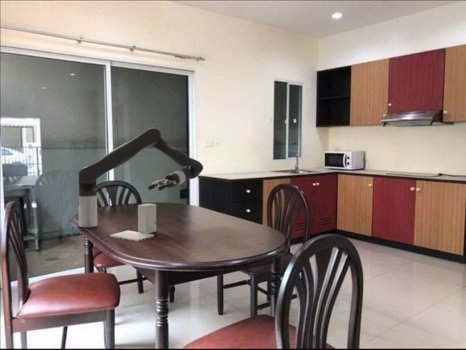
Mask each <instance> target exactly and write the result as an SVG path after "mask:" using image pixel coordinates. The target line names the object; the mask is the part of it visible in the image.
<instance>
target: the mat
mask: <svg viewBox="0 0 466 350" xmlns="http://www.w3.org/2000/svg"><path fill="white" fill-rule="evenodd" d="M154 236H155V234H153V233H148V234H146V233H140V232H138V231H135V230H134V231H133V230H124V231H120V232H117V233H112V234H110V235H109V237H110V238H116V239H120V238H121V239H122V240H126V239H127V240H128V241H132V240H133V241H132V242H139V240H140V241H143V239H144V240H147V239H150V238H154ZM146 238H147V239H146ZM121 239H120V240H121ZM127 240H126V241H127Z"/></svg>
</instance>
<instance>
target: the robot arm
mask: <svg viewBox="0 0 466 350" xmlns="http://www.w3.org/2000/svg"><path fill="white" fill-rule="evenodd" d="M149 146H151V147H153V148H155V149H157V150H159V152H161V153H163V154H165V155H166V156H167V157H168V158H170V159H171V160H173V161H174V163H176V164H177V165H179V166H180V167H182V168H181V169H179V170H176V171H173V172H171V173H168V174H166V176H165V178H164V179H158V180H156V181H153V182H151V185H148V186H147V189H148V190H153V189H155V188H158V191H162V190H165V189H171V188H174V187H177V186H179V185H182V184H183V183H184V182H186V181H189V180H193V179H196V178H198V176H199V175H200V174H201V173H202V172H203V170H204V165H203V163H201V162H200V161H199V160H197V159H195V158H192V157H189V156H188V155H187V154H185V153H184V152H183V151H181V150H180V149H178V148H177V147H174V146H172V145H171V144H169V143H168V142H167V141H165V140H164V138H162V135H161V131H160V130H159V129H158V128H156V127H149V128H148V129H146V130H145V131H144V132H142V133H140V134H139V135H138V136H137V137H135V138H133V139H132V140H130V141H127V142H126V143H123V144H121V145H120V146H118V147H116V148H115V149H113V150H112V151H110V152H108V153H107V154H106V155H104V156H103V158H101V159H100V160H98V161H97V162H95V163H92V164H91V165H88V166H84V167H83V166H82V168H80V170H79V171H78V200H79V201H78V206H79V207H78V209H77V213H78V219H77V220H78V226H79V227H80V228H93V227H94V228H95V227H97V226H98V202H97V201H98V200H97V198H98V195H97V191H98V190H97V180H98V178H100V177H101V176H103V175H104V174H107V173H108V172H110V171H112V170H114V169H115V168H118V167H119V166H122V165H124V164H125V163H126V162H129V161H130V160H131V159H132V158H134V157H135V156H136V155H137V154H138V153H140V152H141V151H142V150H144V149H145V148H147V147H149ZM187 166H188V167H189V168H188V167H187Z"/></svg>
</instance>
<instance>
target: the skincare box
mask: <svg viewBox="0 0 466 350" xmlns="http://www.w3.org/2000/svg"><path fill="white" fill-rule="evenodd" d="M137 232H140V233H146V234H153V233H155V232H157V204H156V203H142V204H138V205H137Z"/></svg>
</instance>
